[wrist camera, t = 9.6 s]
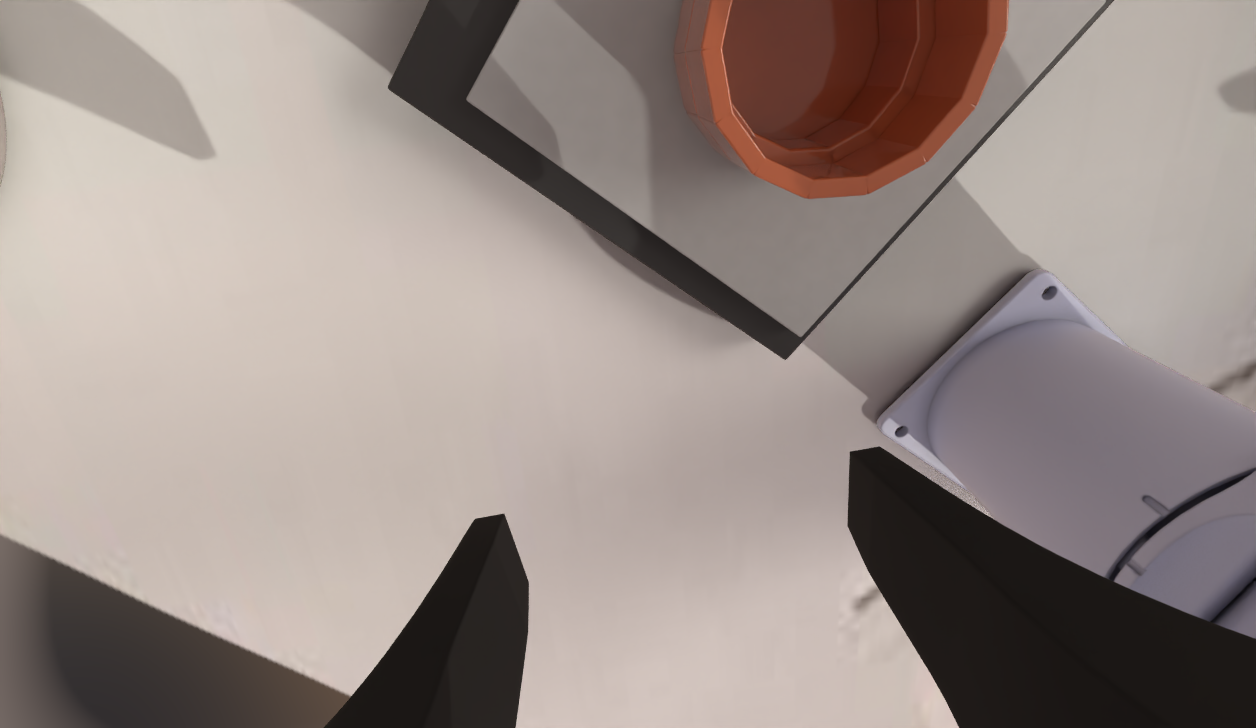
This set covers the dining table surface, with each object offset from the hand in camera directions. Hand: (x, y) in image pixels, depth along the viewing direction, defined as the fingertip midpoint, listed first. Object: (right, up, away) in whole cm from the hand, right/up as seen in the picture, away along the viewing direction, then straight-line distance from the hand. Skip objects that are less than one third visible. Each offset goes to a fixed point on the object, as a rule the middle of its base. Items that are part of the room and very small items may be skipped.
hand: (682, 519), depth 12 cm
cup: (+3, +11, +2) cm, 11 cm away
